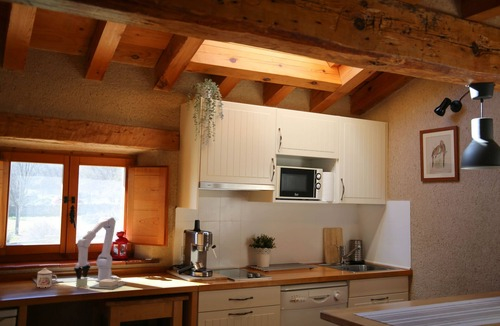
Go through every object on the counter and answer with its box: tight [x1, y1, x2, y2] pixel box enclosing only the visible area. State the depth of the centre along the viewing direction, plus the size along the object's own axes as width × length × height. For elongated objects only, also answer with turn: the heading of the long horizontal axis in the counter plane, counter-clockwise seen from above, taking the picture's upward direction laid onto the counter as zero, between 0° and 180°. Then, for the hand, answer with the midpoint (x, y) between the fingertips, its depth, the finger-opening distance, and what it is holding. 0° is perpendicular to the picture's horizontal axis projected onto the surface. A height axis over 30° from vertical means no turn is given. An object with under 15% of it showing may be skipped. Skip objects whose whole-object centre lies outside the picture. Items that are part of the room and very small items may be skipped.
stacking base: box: [89, 278, 127, 291], centre depth 326 cm, size 20×16×4 cm
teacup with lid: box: [36, 267, 58, 289], centre depth 320 cm, size 12×9×12 cm
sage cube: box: [75, 276, 88, 288], centre depth 326 cm, size 5×5×5 cm
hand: (81, 277), depth 326 cm, fingers open, 7 cm apart
